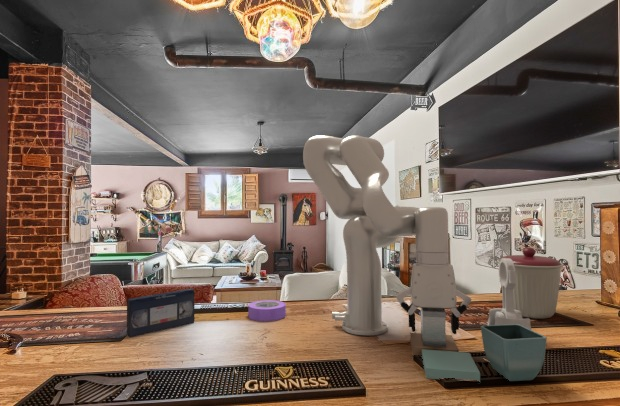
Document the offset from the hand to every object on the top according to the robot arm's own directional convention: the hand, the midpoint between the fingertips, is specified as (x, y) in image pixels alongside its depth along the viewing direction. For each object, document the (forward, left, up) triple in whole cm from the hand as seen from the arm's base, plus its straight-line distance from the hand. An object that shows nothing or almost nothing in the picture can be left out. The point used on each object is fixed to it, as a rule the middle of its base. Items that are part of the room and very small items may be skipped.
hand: (433, 331), depth 89 cm
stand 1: (0, 0, -4) cm, 4 cm away
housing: (0, 0, -2) cm, 2 cm away
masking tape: (-48, +19, -5) cm, 52 cm away
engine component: (+20, +12, -5) cm, 24 cm away
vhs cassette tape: (-73, +1, -5) cm, 73 cm away
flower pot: (+14, -11, -5) cm, 18 cm away
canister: (+33, +36, -5) cm, 49 cm away
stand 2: (+2, -11, -4) cm, 12 cm away
